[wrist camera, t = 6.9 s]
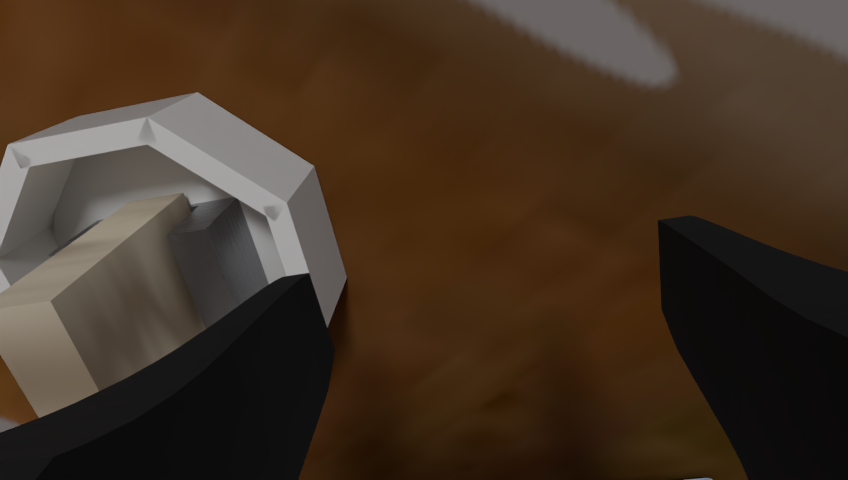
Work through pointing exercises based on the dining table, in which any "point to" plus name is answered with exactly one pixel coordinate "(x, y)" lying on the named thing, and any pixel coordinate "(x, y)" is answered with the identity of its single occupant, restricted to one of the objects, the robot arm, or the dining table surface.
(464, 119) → the dining table surface
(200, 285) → the clip
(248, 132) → the bowl
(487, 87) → the dining table surface
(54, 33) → the dining table surface
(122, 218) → the wood grain plank
